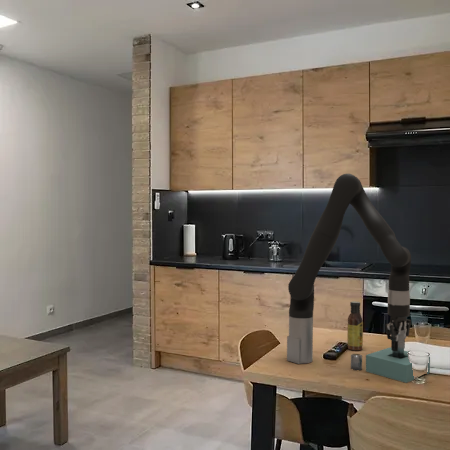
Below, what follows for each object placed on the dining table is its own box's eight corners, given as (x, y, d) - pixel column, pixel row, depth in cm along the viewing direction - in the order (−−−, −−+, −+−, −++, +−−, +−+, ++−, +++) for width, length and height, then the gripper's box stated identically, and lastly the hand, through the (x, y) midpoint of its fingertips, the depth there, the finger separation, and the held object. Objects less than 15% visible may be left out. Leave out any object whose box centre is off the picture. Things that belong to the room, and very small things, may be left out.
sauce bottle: (363, 351, 210) (363, 303, 209) (347, 350, 211) (348, 303, 211) (362, 347, 216) (362, 301, 216) (347, 346, 218) (347, 300, 217)
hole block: (406, 382, 172) (406, 365, 172) (365, 371, 184) (365, 354, 184) (429, 373, 183) (430, 356, 182) (389, 362, 195) (390, 347, 195)
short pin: (357, 371, 185) (357, 357, 184) (348, 368, 188) (348, 355, 187) (364, 369, 187) (364, 355, 187) (354, 366, 190) (355, 353, 190)
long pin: (400, 362, 181) (400, 331, 180) (389, 359, 184) (390, 329, 183) (405, 360, 183) (406, 329, 183) (395, 357, 186) (396, 327, 186)
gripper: (399, 298, 190) (399, 344, 191) (378, 303, 181) (377, 351, 181) (418, 301, 185) (417, 348, 185) (397, 306, 175) (396, 355, 176)
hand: (398, 349), depth 183 cm, fingers closed on long pin, 4 cm apart
